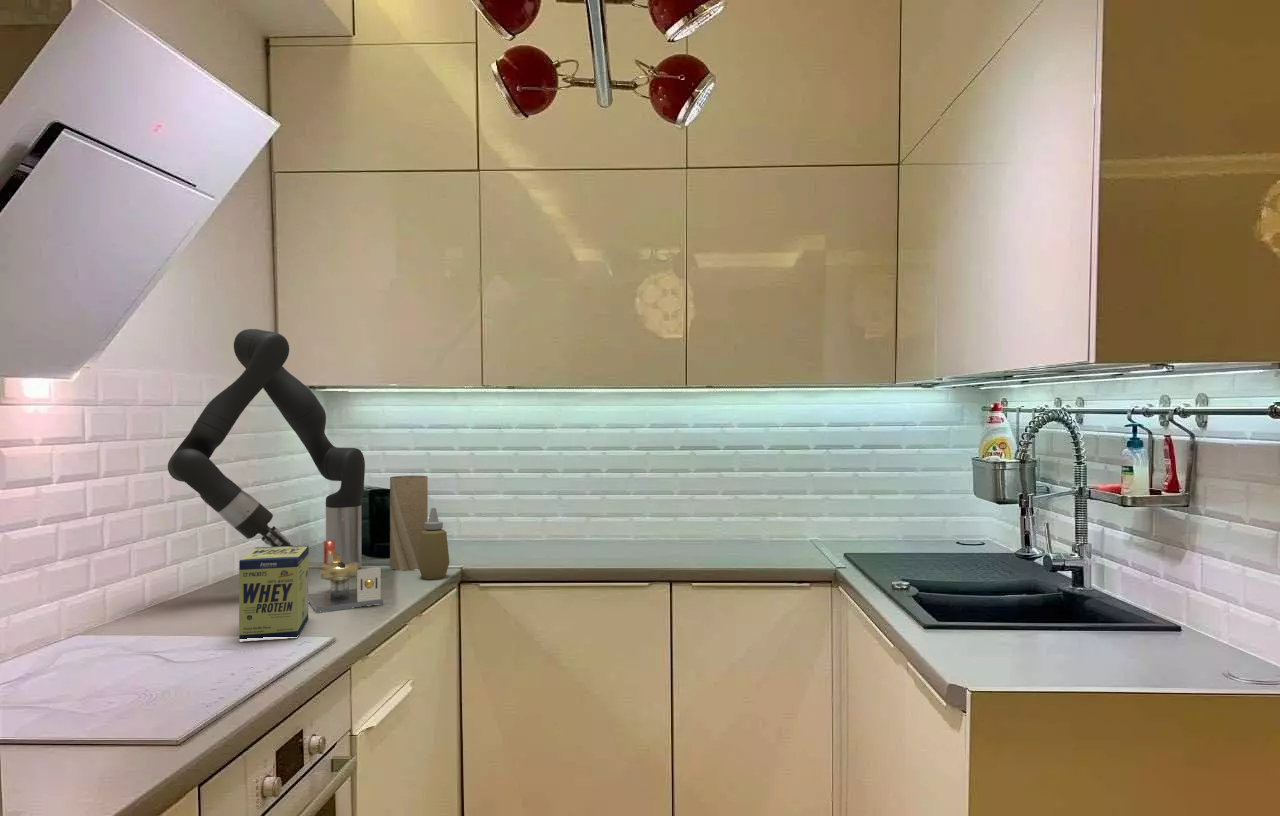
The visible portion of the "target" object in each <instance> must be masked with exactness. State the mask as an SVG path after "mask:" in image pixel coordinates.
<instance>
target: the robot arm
mask: <svg viewBox="0 0 1280 816" xmlns="http://www.w3.org/2000/svg"><path fill="white" fill-rule="evenodd" d="M233 351H234V355H235V357H236V359H237V360H238V361H239V362H240V364H241V365H242V366H243V367H244V368H245V369H244V371H242V373H241V375H240V376H239V377H237V379H236V380H235V381H233V382H232V383H231V384H230V385H228V386H227V387H226V388H225V389H223V390H222V391H221V392H219V393H218V394H217V395H216V396H214V397H213V398H212V399H211V400H210V401H209V402H208V404H207V405H206V406H205V408H204V409H203V410H202V412H201V413H200V415H199V416H198V418H197V419H196V420H195V422H194V424H193V426H192V427H191V430H190V431H189V433H188V434H187V436H186V437H185V438H184V439H183V440H182V442H181V443H180V444H179V445H178V447H177V449H176V450H175V451H174V453H173V454H172V455H171V457H170V458H169V460H168V463H167V471H168V473H169V475H170V477H172V479H174V480H176V481H178V482H181V483H182V482H183V483H186V484H187V485H188V486H189V487H190V488H191V489H193V490H194V491H195V492H196V493H198V494H199V496H200V498H201V499H202V500H203V501H204V502H205V503H206V505H208V506H209V507H211V509H213V510H214V511H215V512H216V513H218V514H219V515H220V516H221V518H223V519H222V520H224V521H225V522H226V523H228V524H229V525H230V526H231V527H233V528H234V529H235V530H236V531H238V532H239V533H240V535H242V536H243V537H244V538H246V539H247V540H250V539H252V538H253V539H254V538H255V536H257V535H258V534H260V535H261V536H262V537H260V539H261V541H262V542H264V543H265V544H266V545H267V546H269V547H281V546H294V545H293V544H291V542H290V541H289V539H288V538H287V537H286V536H285V535H284V534H282V533H281V531H280V530H279V528H277V527H276V526H275V525H273V526H272V527H271V526H269V525H268V524H269V523H271V521H272V519H273V517H274V514H273V513H272V512H271V511H270V510H268V508H266V507H265V506H264V505H262V504H261V502H259V501H258V500H257V499H256V498H255V497H253V496H252V495H251V494H249V493H248V492H246V491H245V490H243V489H242V488H241V487H239V486H238V485H237V484H236V483H235V482H234V481H233V480H232V479H230V478H229V477H227V476H226V475H225V474H224V473H223V472H222V471H221V470H220V468H219V467H218V466H216V464H215V463H214V462H213V461H212V460H211V459H210V458H211V457H212V456H213V453H214V451H215V450H216V449H217V448H218V447H219V446H220V445H221V444H222V443H223V442H224V440H225V439H226V437H227V436H228V434H229V433H230V431H231V430H232V429H233V427H234V425H235V423H236V422H237V420H238V419H239V418H240V416H241V415H242V414H243V412H244V410H246V408H247V406H249V404H250V403H251V402H252V401H253V400H254V398H256V396H257V395H258V394H260V391H262V389H263V390H264V392H265V393H266V394H267V396H269V397H268V398H270V400H271V402H272V403H273V404H274V405H275V407H276V408H277V409H278V411H279V412H280V413H281V415H282V417H283V418H284V420H285V421H286V422H287V424H288V425H289V426H290V428H291V429H292V430H293V431H294V433H295V434H296V435H297V437H298V438H299V440H300V441H301V444H303V446H304V448H305V449H306V451H307V452H308V454H309V455H310V457H311V460H312V461H313V463H314V465H315V467H316V468H317V470H318V472H319V474H320V475H321V476H322V477H323V478H324V479H325V480H328V481H331V482H340V488H339V489H338V490H337V491H336V492H333V493H331V494H328V495H327V496H326V497H325V541H328V540H335V551H336V552H337V553H338V554H339V555H340V556H341V562H356V563H358V569H362V553H363V552H362V500H363V496H364V492H365V475H366V462H365V456H364V454H363V452H362V450H361V449H359V448H358V447H357V448H356V447H336V446H334V445H333V443H331V441H330V440H329V438H328V437H327V434H326V424H327V414H326V411H325V408H324V407H323V405H322V404H321V402H320V400H319V399H318V398H317V396H316V395H315V394H314V393H313V391H312V390H311V389H310V388H309V387H308V386H307V385H306V384H304V383H303V382H302V381H300V380H299V379H298V378H297V377H295V376H294V375H293V374H291V372H289V371H288V370H287V369H286V368H285V367H284V364H285V363H286V362H287V360H288V358H289V354H290V345H289V342H288V340H287V338H286V337H285V336H283V334H280V333H278V332H274V331H268V330H263V329H258V328H246V329H243V330H241V331H240V332H238V333H237V335H236V336H235V338H234V341H233Z"/></svg>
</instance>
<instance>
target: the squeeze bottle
mask: <svg viewBox="0 0 1280 816" xmlns="http://www.w3.org/2000/svg"><path fill="white" fill-rule="evenodd" d="M443 523H444V522H443V521H441V520H439V516H438V512H437V508H436V507H432V508H430V513H429V517H428V522H425V523H424V529H426V530H424V531H422V532H421V535H420V545H419V555H418V567H419V572H420V575H421V578H422V579H423V580H425V579H426V580H437V579H438V580H439V579H444V577H446V576H447V572H448V569H449V566H450V555H449V545H448V535H447V531H446V530H445V529H443V527H444V526H443V525H444V524H443Z"/></svg>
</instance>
